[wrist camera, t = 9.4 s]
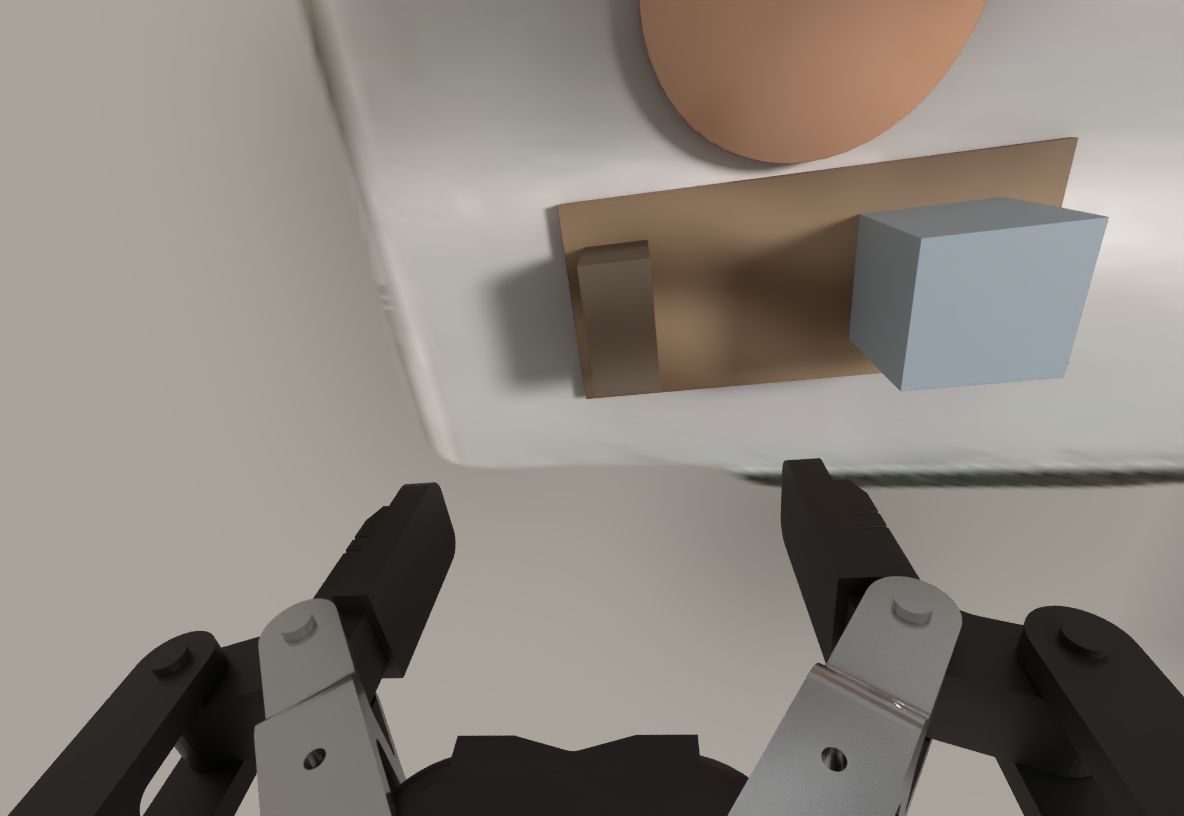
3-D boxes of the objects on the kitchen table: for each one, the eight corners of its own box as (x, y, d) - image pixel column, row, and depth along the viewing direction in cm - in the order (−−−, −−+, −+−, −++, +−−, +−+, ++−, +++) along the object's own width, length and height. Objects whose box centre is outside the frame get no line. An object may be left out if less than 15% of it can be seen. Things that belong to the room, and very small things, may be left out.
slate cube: (859, 213, 25) (921, 238, 19) (1003, 196, 24) (1108, 217, 19) (848, 339, 27) (900, 391, 22) (978, 327, 27) (1063, 377, 21)
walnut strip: (558, 204, 26) (545, 219, 22) (1069, 137, 23) (1160, 140, 19) (587, 394, 30) (580, 435, 26) (1018, 356, 28) (1082, 395, 24)
